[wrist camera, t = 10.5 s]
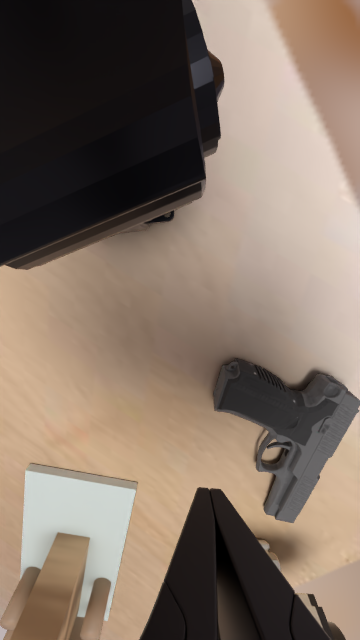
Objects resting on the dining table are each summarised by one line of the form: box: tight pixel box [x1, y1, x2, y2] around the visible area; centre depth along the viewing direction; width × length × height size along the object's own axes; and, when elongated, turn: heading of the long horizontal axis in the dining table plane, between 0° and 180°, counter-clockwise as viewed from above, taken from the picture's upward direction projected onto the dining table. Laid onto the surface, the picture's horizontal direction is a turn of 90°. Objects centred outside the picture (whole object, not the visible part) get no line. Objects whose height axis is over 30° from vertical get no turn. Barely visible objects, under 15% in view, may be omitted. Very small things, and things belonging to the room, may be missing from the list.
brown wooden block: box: [10, 532, 90, 640], centre depth 23 cm, size 13×4×9 cm, turn 168°
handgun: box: [214, 358, 360, 523], centre depth 22 cm, size 3×16×12 cm
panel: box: [0, 464, 138, 640], centre depth 25 cm, size 23×11×5 cm, turn 168°
